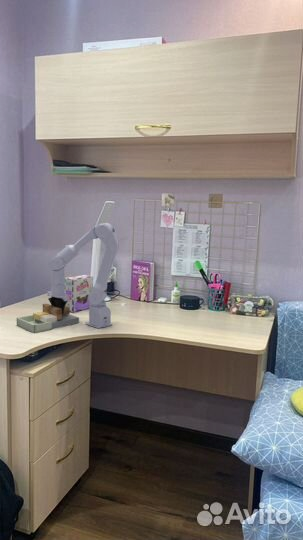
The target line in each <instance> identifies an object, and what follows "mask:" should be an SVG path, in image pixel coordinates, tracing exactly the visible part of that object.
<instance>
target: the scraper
mask: <svg viewBox="0 0 303 540" xmlns="http://www.w3.org/2000/svg"><path fill="white" fill-rule="evenodd" d="M43 311H44V312H46V313H49V314H52V315H54V316H57V320H59V319H62V309H61V308H58V307H55V306H52V305H51V304H48V303H43V304H42V312H43ZM67 314H70V315H71V312H70V307H68V306H65V308H64V312H63V315H67Z"/></svg>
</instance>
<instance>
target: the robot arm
mask: <svg viewBox="0 0 303 540" xmlns="http://www.w3.org/2000/svg"><path fill="white" fill-rule="evenodd" d="M96 239H97V240H100V241H102V243H103V245H104V246H105V250H104V253H103V254H104V255H103V256H102V260H101V264H100V267H99V270H98V272H97V273H98V274H97V277H96V280H95V283H94V285H93V289H92V291H91V292H90V293H89V295H88V301H89V309H88V321H85V323H84V324H86V325H88V326H91V327H93V328H96V329H101V328H105V327H109V326H112V325H113V324H112V321H111V319H112V317H111V315H112V313H111V312H112V311H111V309H110V307H108V306H107V302H106V299H107V295H108V294H107V289H108V283H109V279H110V276H111V272H112V269H113V267H114V262H115V259H116V257H117V253H118V249H119V247H120V245H119V241H118V235H117V231H116V228H115V227H114V226H113V225H112V223H110V222H102V223H98V224H97V225H96V226H94V227H92V228H91V229H90V230H88V231H87V232H86V233H85V234H83V236H81V237H80V239H78V240H77V241H76V242H75V243H74V244H68V245H67V244H66V245H65V246H64V247H63V249H62V250H61V251H59V252H57V253H56V255H55V256H53V257H51V258H50V260H49V261H48V266H49V268H50V290H49V291H48V290H47V293H46V294H47V296H48V301H49V303H50V305H52V306H55V307H58V308H61V309H62V315H63V312H64V308H65V305H66V303H67V302H68V301H69V296H67V295H66V294H65V267H67V266H66V265H67V264H69V263H70V262H71V261H72V260H73V259H75V258H76V257H78V256H79V251H80V250H81V249H82V248H83V247H85V246H86V245H87V244H88V243H90V242H91V241H92V240H96Z"/></svg>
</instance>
